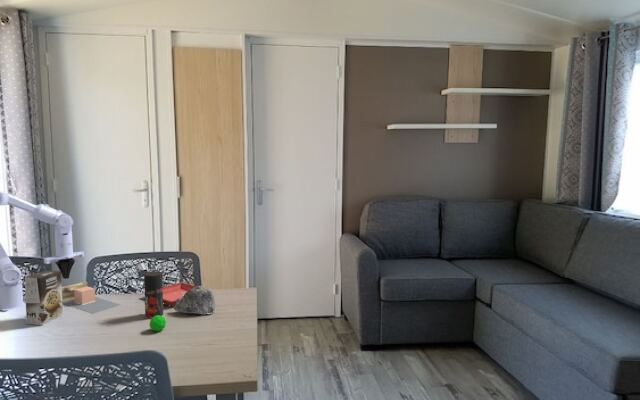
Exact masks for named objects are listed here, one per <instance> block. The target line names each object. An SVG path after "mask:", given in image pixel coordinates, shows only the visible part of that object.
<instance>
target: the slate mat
mask: <svg viewBox="0 0 640 400" xmlns="http://www.w3.org/2000/svg"><path fill="white" fill-rule="evenodd" d="M62 305H66V306H69V307H72V308H75V309H78V310H80V311H81V310H82V311H84V312H87V313H89V314H92V315H93V314H97V313H100V312H103V311H105V310H109V309H113V308H115V307H116V308H117V307H118V306H121V303H120V304H119V303H117V302H114V301H110V300H108V299H104V298H101V297H96V296H95V302H91V303H88V304H84V305H81V304H78V303H75V299H72V300H68V301H64V302H62Z"/></svg>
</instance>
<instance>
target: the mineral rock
mask: <svg viewBox="0 0 640 400" xmlns="http://www.w3.org/2000/svg"><path fill="white" fill-rule="evenodd" d="M195 286H196V287H194V288H193V289H191V290H190V291H187V292H186V293H185V294H184V296H183V297H181V298H178V299H177V300H176V305H175V306H174V307H173V309H174V311H177V312H179V313H182V314H191V315H193V314H192V313H194V314H198V315H206V314H207V313H211V312H212V313H214V312H215V311H216V298H215V294H214V291H213V290H212V288H210V287H207V288H206V287H204V286H203V285H195ZM214 310H215V311H214ZM213 311H214V312H213Z"/></svg>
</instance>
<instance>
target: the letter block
mask: <svg viewBox="0 0 640 400" xmlns="http://www.w3.org/2000/svg"><path fill="white" fill-rule="evenodd" d="M74 296H75V303H78V304H81V305H84V304H88V303H91V302H95V297H96V289H95V287H91V286H88V285H87V286H86V287H82V288H78V289H75V290H74Z"/></svg>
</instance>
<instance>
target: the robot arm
mask: <svg viewBox="0 0 640 400" xmlns="http://www.w3.org/2000/svg"><path fill="white" fill-rule="evenodd" d="M8 205H9V206H12V207H13V208H17V209H20V210H23V211H25V212H28V213H31V215H32V218H33V219H36V220H39V221H41V222H43V223H47V224H49V225H54V230H55V231H54V232H55V233H54V235H55V236H54V237H55V255H52V256H49V257H48V256H47V257H45V258H43V263H44V264H46V265H49V264H53V263H55V264H56V266H57V268H58V269H59V271H61V278H62V279H65V280H66V279H69V278H70V275H71V271H72V269H73V266H74V264H75V262H76V260H75V259H77V258H83V257H84V258H85V252H84V251H75V252H74V245H73V231H72V226H73V225H74V219H73V217H72V216H70V215H69V214H67V213H65V212H63V211H62V210H61V209H55V208H53V207H50V205H49V204H48V203H39V204H36V205H35V204H34V203H31V202H28V201H26V200H24V199H22V198H19V197H17V196H15V195H12V194H10V193H8V192H4V191H0V206H8ZM22 274H23V273H22V271H21V269H19V266H18V265H16V263H14V262H12V260H11V259H10V257H9V255H8V253H7V252H6V249H5V248H4V246H3V245H2V243H1V242H0V311H2V312H7V311H10V310H14V309H18V308H23V307H26V302H24V293H23V290H24V289H23V279H22Z"/></svg>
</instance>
